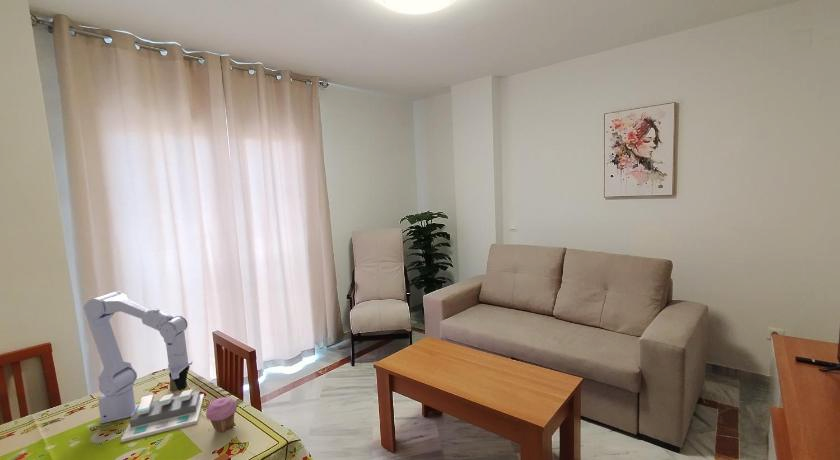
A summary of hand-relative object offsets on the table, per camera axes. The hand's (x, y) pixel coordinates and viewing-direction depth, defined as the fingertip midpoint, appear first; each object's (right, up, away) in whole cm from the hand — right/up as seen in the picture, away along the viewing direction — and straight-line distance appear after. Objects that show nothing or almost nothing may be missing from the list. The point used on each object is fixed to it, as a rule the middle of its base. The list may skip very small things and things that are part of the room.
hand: (182, 389), depth 131 cm
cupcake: (+19, -10, -7) cm, 22 cm away
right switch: (-1, -4, +3) cm, 6 cm away
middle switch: (-6, -5, +1) cm, 8 cm away
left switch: (-12, -5, -1) cm, 13 cm away
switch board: (-5, -10, 0) cm, 11 cm away
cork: (-14, -8, +20) cm, 26 cm away
